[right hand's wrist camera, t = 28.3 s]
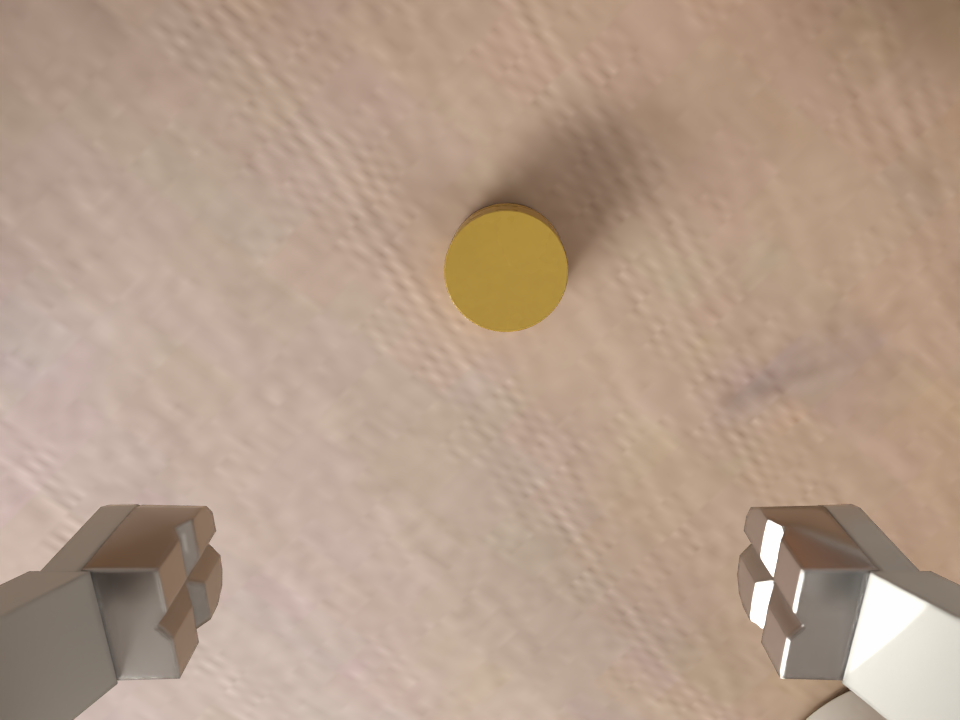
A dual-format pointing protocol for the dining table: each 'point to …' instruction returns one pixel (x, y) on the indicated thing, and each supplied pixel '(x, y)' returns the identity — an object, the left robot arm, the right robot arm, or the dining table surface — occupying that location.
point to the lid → (506, 268)
